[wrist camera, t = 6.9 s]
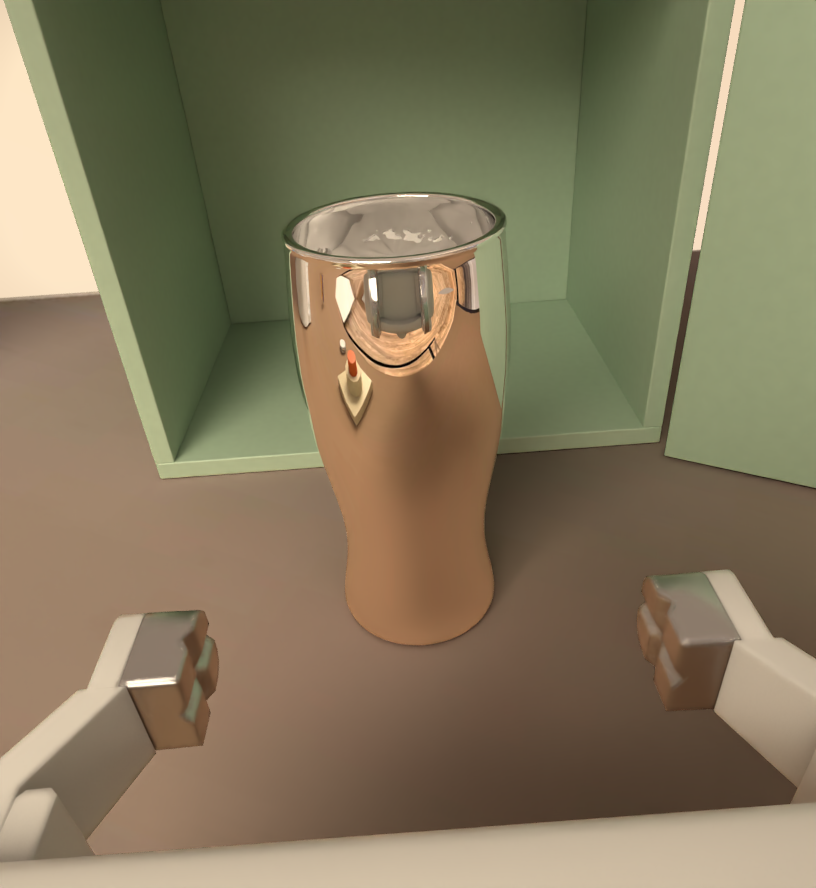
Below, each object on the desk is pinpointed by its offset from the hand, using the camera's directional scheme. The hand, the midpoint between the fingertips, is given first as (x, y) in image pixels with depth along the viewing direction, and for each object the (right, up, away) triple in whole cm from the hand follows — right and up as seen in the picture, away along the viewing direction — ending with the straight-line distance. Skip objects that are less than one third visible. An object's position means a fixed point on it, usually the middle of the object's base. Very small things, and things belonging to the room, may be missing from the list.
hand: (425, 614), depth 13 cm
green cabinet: (-1, +7, +30) cm, 31 cm away
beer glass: (0, -3, +16) cm, 16 cm away
